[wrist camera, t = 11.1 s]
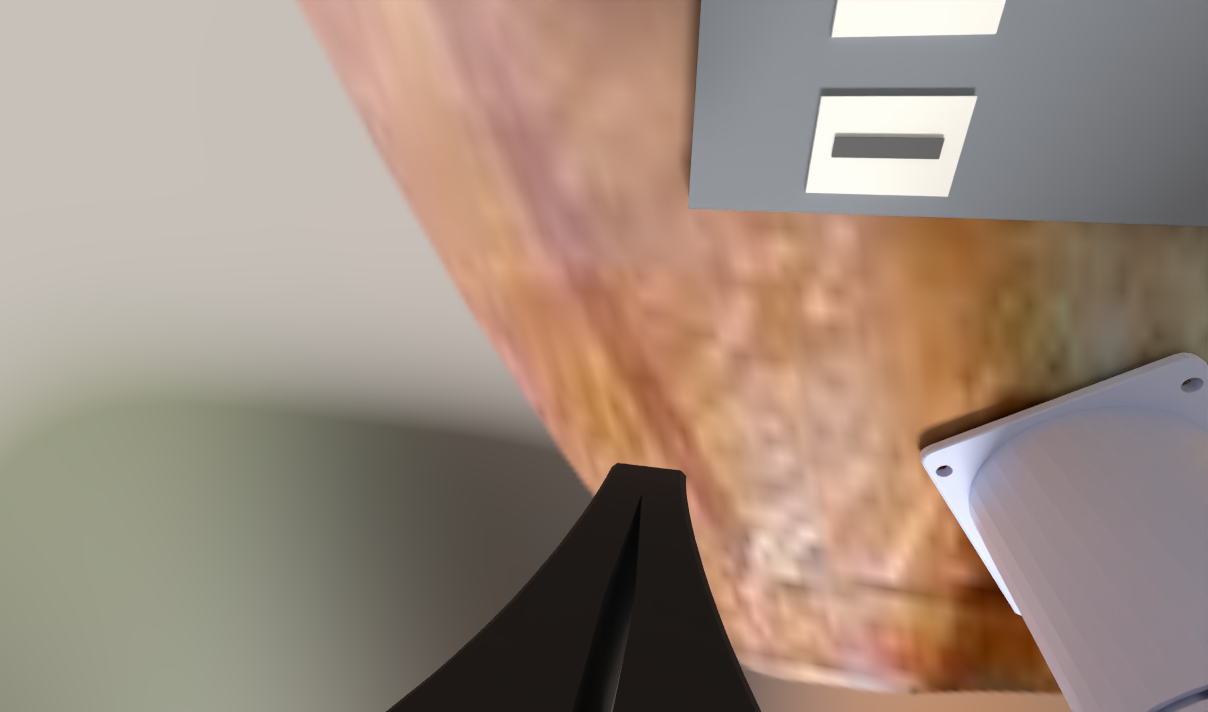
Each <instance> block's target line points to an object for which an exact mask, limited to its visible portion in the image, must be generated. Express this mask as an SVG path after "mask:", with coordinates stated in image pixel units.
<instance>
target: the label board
mask: <svg viewBox="0 0 1208 712" xmlns="http://www.w3.org/2000/svg"><path fill="white" fill-rule="evenodd" d="M688 209H712V210H741V211H770V212H799V213H828V214H857V215H886V216H915V217H944V218H973V219H1002V220H1031V221H1060V222H1089V223H1118V224H1147V225H1176V226H1205V227H1208V0H701V13H700V29H699V44H698V60H697V76H696V92H695V108H694V124H693V139H692V155H691V171H690V187H689V203H688Z"/></svg>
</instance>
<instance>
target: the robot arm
mask: <svg viewBox="0 0 1208 712" xmlns="http://www.w3.org/2000/svg"><path fill="white" fill-rule="evenodd" d="M1190 378H1193V379H1192V380H1191V382H1189V383H1187V384H1186V385H1182V384H1183V382H1184V381H1186V380H1188V379H1190ZM919 457H920V460H921V462H922V464H923V466H924V468H925V470H926V471H927V473H928V474H929V476H930V478H931V479H932V481H933V482H934V484H935V485H936V487H937V489H938V490H939V492H940V493H941V495H942V497H943V498H944V500H945V501H946V503H947V505H948V506H949V508H950V509H951V511H952V513H953V514H954V516H955V517H956V519H957V521H958V522H959V524H960V525H961V527H962V529H963V530H964V532H965V533H966V535H967V537H968V538H969V540H970V541H971V543H972V545H973V546H974V548H975V549H976V551H977V553H978V554H979V556H980V557H981V559H982V561H983V562H984V564H985V565H986V567H987V569H988V570H989V572H990V573H991V575H992V577H993V578H994V580H995V581H996V583H997V584H998V586H999V588H1000V589H1001V591H1002V592H1003V594H1004V596H1005V597H1006V599H1007V600H1008V602H1009V604H1010V605H1011V607H1012V608H1013V610H1014V611H1015V612H1016V613H1017V614H1019V615H1021V616H1022V617H1023V619H1024V621H1025V623H1026V624H1027V626H1028V628H1029V630H1030V632H1031V634H1032V636H1033V638H1034V640H1035V641H1036V643H1037V645H1038V647H1039V649H1040V651H1041V653H1042V655H1043V657H1044V659H1045V660H1046V662H1047V664H1048V666H1049V668H1050V670H1051V672H1052V674H1053V676H1054V677H1055V679H1056V681H1057V683H1058V685H1059V687H1060V689H1061V691H1062V693H1063V694H1064V696H1065V698H1066V700H1067V702H1068V704H1069V706H1070V708H1071V710H1072V711H1073V712H1208V364H1207V363H1206V362H1205V361H1204V360H1203V359H1202V358H1200V357H1198V356H1197V355H1195V354H1192V353H1183V352H1182V353H1178V354H1174V355H1171V356H1168V357H1166V358H1163V359H1160V360H1158V361H1155V362H1152V363H1150V364H1147V365H1144V366H1141V367H1139V368H1136V369H1133V370H1131V371H1128V372H1125V373H1123V374H1120V375H1117V376H1115V377H1112V378H1109V379H1106V380H1104V381H1101V382H1098V383H1096V384H1093V385H1090V386H1088V387H1085V388H1082V389H1079V390H1077V391H1074V392H1071V393H1069V394H1066V395H1063V396H1061V397H1058V398H1055V399H1053V400H1050V401H1047V402H1044V403H1042V404H1039V405H1036V406H1034V407H1031V408H1028V409H1026V410H1023V411H1020V412H1018V413H1015V414H1012V415H1009V416H1007V417H1004V418H1001V419H999V420H996V421H993V422H991V423H988V424H985V425H982V426H980V427H977V428H974V429H972V430H969V431H966V432H964V433H961V434H958V435H956V436H953V437H950V438H947V439H945V440H942V441H939V442H937V443H934V444H931V445H929V446H927V447H925V448H924V449H923V450H922V451H921V452H920V456H919ZM944 465H947V467H946V468H944V469H940V470H939V469H937V468H939V467H940V466H944ZM623 658H624V659H623ZM622 662H623V664H622ZM621 666H622V669H621ZM620 670H621V674H620ZM619 674H620V679H619ZM618 679H619V684H618V689H617V694H616V699H615V704H614V709H613V712H761V710H760V708H759V706H758V704H757V702H756V700H755V697H754V695H753V693H752V691H751V689H750V687H749V684H748V682H747V680H746V678H745V676H744V674H743V671H742V669H741V667H740V664H739V662H738V660H737V657H736V655H735V653H734V650H733V648H732V646H731V643H730V641H729V638H728V636H727V633H726V631H725V628H724V626H723V623H722V621H721V618H720V615H719V613H718V610H717V607H716V604H715V601H714V599H713V596H712V593H711V590H710V587H709V584H708V581H707V578H706V575H705V572H704V568H703V565H702V561H701V558H700V554H699V551H698V547H697V544H696V540H695V536H694V532H693V528H692V523H691V518H690V514H689V508H688V502H687V494H686V476H685V475H684V473H683V472H682V471H680V470H672V469H663V468H655V467H647V466H638V465H630V464H621V463H617V464H615V465H614V466H613V467H612V468H611V469H610V471H609V473H608V475H607V477H606V479H605V480H604V482H603V484H602V485H601V487H600V489H599V490H598V492H597V493H596V495H595V496H594V498H593V500H592V501H591V502H590V504H589V505H588V507H587V508H586V510H585V511H584V513H583V514H582V515H581V517H580V518H579V519H578V521H577V522H576V523H575V525H574V526H573V527H572V529H571V530H570V531H569V533H568V534H567V535H566V537H565V538H564V539H563V541H562V542H561V543H560V545H559V546H558V547H557V549H556V550H555V551H554V552H553V553H552V554H551V556H550V557H549V558H548V559H547V560H546V562H545V563H544V564H543V565H542V566H541V567H540V569H539V570H538V571H537V572H536V573H535V575H534V576H533V577H532V578H531V579H530V580H529V582H528V583H527V584H526V585H525V586H524V587H523V588H522V589H521V590H520V591H519V592H518V594H517V595H516V596H515V597H514V598H513V599H512V600H511V601H510V602H509V603H508V604H507V605H506V606H505V607H504V608H503V609H502V610H501V611H500V612H499V613H498V614H497V615H496V616H495V617H494V618H493V619H492V620H491V621H490V622H489V623H488V624H487V625H486V626H485V627H484V628H483V629H482V630H481V631H480V632H479V633H478V634H477V635H476V636H475V637H474V638H472V639H471V640H470V641H469V642H468V643H467V644H466V645H465V646H464V647H463V648H462V649H461V650H459V651H458V652H457V653H456V654H455V655H454V656H453V657H452V658H451V659H449V660H448V661H447V662H446V663H445V664H444V665H443V666H441V667H440V668H439V669H438V670H437V671H436V672H435V673H434V674H432V675H431V676H430V677H429V678H427V679H426V680H425V681H424V682H422V683H421V684H420V685H419V686H417V687H416V688H415V689H414V690H412V691H411V692H410V693H409V694H407V695H406V696H405V697H404V698H402V699H401V700H400V701H399V702H397V703H396V704H395V705H394V706H392V708H390V709H389V710H388V711H386V712H611V708H612V703H613V699H614V695H615V691H616V687H617V683H618Z"/></svg>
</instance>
